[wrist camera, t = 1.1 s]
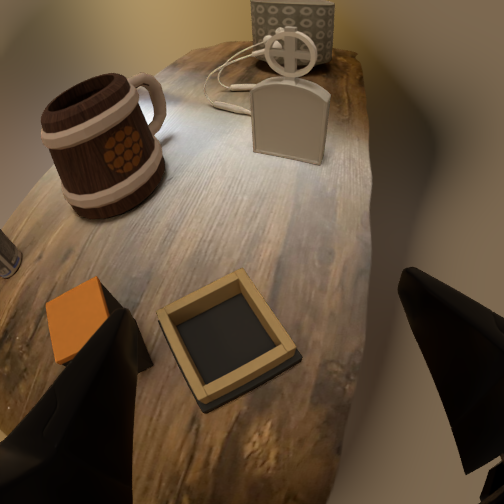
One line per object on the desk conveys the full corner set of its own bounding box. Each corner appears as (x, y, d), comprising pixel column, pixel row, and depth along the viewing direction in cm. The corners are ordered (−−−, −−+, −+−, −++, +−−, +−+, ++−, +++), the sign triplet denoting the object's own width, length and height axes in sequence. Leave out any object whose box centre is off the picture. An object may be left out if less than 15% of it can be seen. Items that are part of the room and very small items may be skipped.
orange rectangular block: (154, 366, 23) (113, 334, 17) (108, 387, 22) (55, 362, 16) (135, 319, 26) (96, 275, 20) (92, 340, 25) (45, 303, 18)
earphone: (218, 68, 52) (283, 18, 40) (269, 123, 60) (338, 85, 48) (186, 95, 45) (260, 31, 32) (249, 158, 53) (331, 115, 40)
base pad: (301, 361, 23) (306, 348, 20) (205, 413, 21) (195, 409, 18) (247, 281, 28) (244, 260, 25) (161, 325, 26) (147, 308, 23)
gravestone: (260, 141, 41) (254, 23, 26) (323, 154, 39) (335, 30, 24) (253, 151, 40) (245, 27, 25) (320, 165, 37) (332, 34, 23)
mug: (114, 240, 32) (56, 135, 20) (56, 205, 37) (11, 125, 24) (209, 144, 41) (194, 50, 29) (141, 129, 46) (120, 54, 34)
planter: (247, 74, 58) (242, 2, 43) (261, 53, 69) (258, -4, 54) (331, 81, 55) (337, 7, 40) (329, 58, 66) (332, 0, 51)
